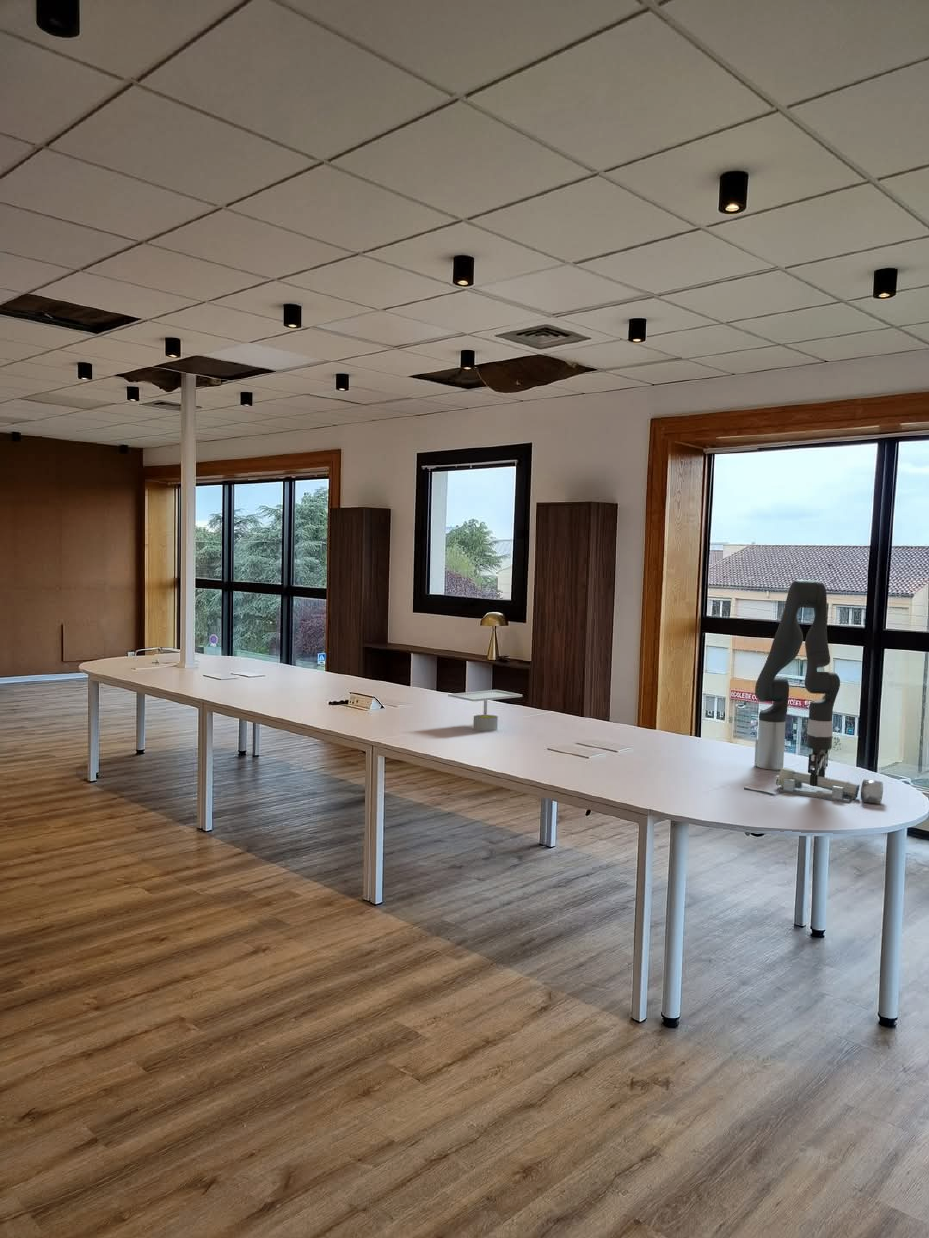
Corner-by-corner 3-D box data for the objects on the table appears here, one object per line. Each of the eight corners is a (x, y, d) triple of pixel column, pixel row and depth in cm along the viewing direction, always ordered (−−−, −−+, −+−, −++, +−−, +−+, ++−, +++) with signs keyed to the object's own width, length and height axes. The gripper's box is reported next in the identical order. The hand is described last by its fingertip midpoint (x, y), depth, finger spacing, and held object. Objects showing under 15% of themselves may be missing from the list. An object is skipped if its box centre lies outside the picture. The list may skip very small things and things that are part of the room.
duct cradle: (777, 791, 298) (778, 769, 298) (786, 785, 307) (787, 764, 306) (876, 807, 281) (877, 784, 280) (883, 800, 289) (884, 778, 289)
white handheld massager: (859, 786, 288) (777, 765, 299) (854, 806, 289) (773, 784, 300) (860, 782, 292) (779, 762, 304) (856, 802, 293) (776, 781, 305)
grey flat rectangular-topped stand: (495, 722, 410) (496, 689, 410) (521, 728, 397) (522, 694, 396) (446, 728, 393) (447, 694, 392) (472, 735, 380) (473, 699, 379)
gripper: (813, 729, 303) (811, 777, 304) (801, 735, 291) (798, 785, 292) (837, 732, 298) (834, 781, 299) (825, 738, 287) (823, 789, 288)
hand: (817, 783), depth 296 cm, fingers open, 8 cm apart
